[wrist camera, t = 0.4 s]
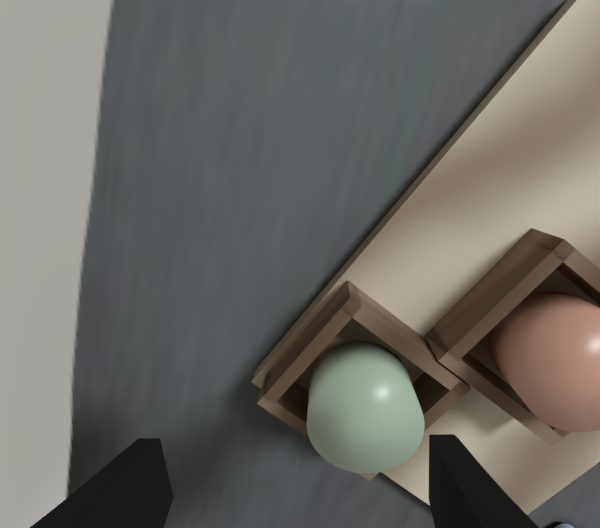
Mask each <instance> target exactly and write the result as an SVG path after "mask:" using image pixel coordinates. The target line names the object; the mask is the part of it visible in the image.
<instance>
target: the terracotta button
mask: <svg viewBox="0 0 600 528" xmlns="http://www.w3.org/2000/svg"><path fill="white" fill-rule="evenodd" d="M490 353H491V357H492V360H493V363H494V365H495V366H496V368H497V369H498V371H499V372H500V373H501V374H502V376H503V377H504V378H505V379H506V381H507V382H508V383H509V384H510V386H511V387H512V388H513V389H514V391H515V392H516V393H517V394H518V395H519V397H520V398H521V399H522V400H523V402H524V403H525V404H526V405H527V407H528V408H529V409H530V410H531V411H532V413H533V414H534V415H535V416H536V417H537V418H538V419H540V420H541V421H543V422H544V423H546V424H548V425H550V426H552V427H554V428H557V429H560V430H565V431H571V432H590V431H597V430H600V308H599V307H597V306H595V305H593V304H591V303H590V302H588V301H586V300H584V299H582V298H580V297H578V296H576V295H573V294H569V293H564V292H546V293H540V294H536V295H532V296H530V297H527V298H525V299H523V300H522V301H521V302H520V303H519V304H518V305H517V306H516V307H515V308H514V309H513V310H512V311H511V312H510V313H509V314H508V315H507V316H505V317H504V318H503V319H502V320H501V321H500V322H499V323H498V324H497V325H496V326H495V327H494V330H493V332H492V336H491V340H490Z"/></svg>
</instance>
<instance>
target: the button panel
mask: <svg viewBox="0 0 600 528" xmlns="http://www.w3.org/2000/svg"><path fill="white" fill-rule="evenodd" d="M546 292H564V293H569V294H573V295H576V296H578V297H580V298H582V299H584V300H586V301H588V302H590V303H591V304H593V305H595V306H597V307H599V308H600V0H567V1H566V2H565V3H564V5H563V6H562V7H561V8H560V9H559V11H558V12H557V13H556V14H555V15H554V16H553V18H552V19H551V20H550V21H549V22H548V24H547V25H546V26H545V27H544V28H543V30H542V31H541V32H540V33H539V34H538V35H537V37H536V38H535V39H534V40H533V41H532V43H531V44H530V45H529V46H528V47H527V48H526V50H525V51H524V52H523V53H522V54H521V56H520V57H519V58H518V59H517V60H516V62H515V63H514V64H513V65H512V66H511V67H510V69H509V70H508V71H507V72H506V73H505V75H504V76H503V77H502V78H501V79H500V81H499V82H498V83H497V84H496V85H495V86H494V88H493V89H492V90H491V91H490V92H489V94H488V95H487V96H486V97H485V98H484V99H483V101H482V102H481V103H480V104H479V105H478V107H477V108H476V109H475V110H474V111H473V113H472V114H471V115H470V116H469V117H468V118H467V120H466V121H465V122H464V123H463V124H462V126H461V127H460V128H459V129H458V130H457V131H456V133H455V134H454V135H453V136H452V137H451V139H450V140H449V141H448V142H447V143H446V145H445V146H444V147H443V148H442V149H441V150H440V152H439V153H438V154H437V155H436V156H435V158H434V159H433V160H432V161H431V162H430V163H429V165H428V166H427V167H426V168H425V169H424V171H423V172H422V173H421V174H420V175H419V177H418V178H417V179H416V180H415V181H414V182H413V184H412V185H411V186H410V187H409V188H408V190H407V191H406V192H405V193H404V194H403V195H402V197H401V198H400V199H399V200H398V201H397V203H396V204H395V205H394V206H393V207H392V209H391V210H390V211H389V212H388V213H387V214H386V216H385V217H384V218H383V219H382V220H381V222H380V223H379V224H378V225H377V226H376V227H375V229H374V230H373V231H372V232H371V233H370V235H369V236H368V237H367V238H366V239H365V241H364V242H363V243H362V244H361V245H360V246H359V248H358V249H357V250H356V251H355V252H354V254H353V255H352V256H351V257H350V258H349V259H348V261H347V262H346V263H345V264H344V265H343V267H342V268H341V269H340V270H339V271H338V273H337V274H336V275H335V276H334V277H333V278H332V280H331V281H330V282H329V283H328V284H327V286H326V287H325V288H324V289H323V290H322V292H321V293H320V294H319V295H318V296H317V297H316V299H315V300H314V301H313V302H312V303H311V305H310V306H309V307H308V308H307V309H306V310H305V312H304V313H303V314H302V315H301V316H300V318H299V319H298V320H297V321H296V322H295V324H294V325H293V326H292V327H291V328H290V329H289V331H288V332H287V333H286V334H285V335H284V337H283V338H282V339H281V340H280V341H279V342H278V344H277V345H276V346H275V347H274V348H273V350H272V351H271V352H270V353H269V354H268V356H267V357H266V358H265V359H264V360H263V361H262V363H261V364H260V365H259V366H258V367H257V369H256V371H255V374H254V377H253V379H252V383H253V384H255V385H256V386H258V387H259V388H260V389H261V392H260V395H259V399H258V402H257V404H258V405H260V406H261V407H262V408H264V409H265V410H267V411H268V412H270V413H271V414H273V415H274V416H276V417H277V418H278V419H280V420H281V421H283V422H284V423H286V424H287V425H289V426H290V427H292V428H293V429H295V430H296V431H297V432H299V433H300V434H302V435H303V436H305V437H306V438H308V439H309V436H308V432H307V412H308V400H309V388H310V377H311V373H312V370H313V368H314V366H315V364H316V362H317V361H318V360H319V358H320V357H321V356H322V355H323V354H324V353H325V352H327V351H328V350H330V349H331V348H333V347H335V346H337V345H340V344H343V343H346V342H352V341H367V342H372V343H376V344H379V345H382V346H384V347H386V348H388V349H389V350H391V351H392V352H393V353H395V354H396V355H397V356H398V357H399V358H400V359H401V361H402V362H403V364H404V365H405V367H406V369H407V372H408V375H409V377H410V380H411V383H412V385H413V388H414V391H415V393H416V396H417V399H418V401H419V404H420V407H421V409H422V413H423V416H424V422H425V427H424V435H423V438H422V441H421V443H420V445H419V447H418V448H417V450H416V451H415V453H414V454H413V455H412V456H411V457H410V458H409V459H407V460H406V461H405V462H404V463H402V464H400V465H399V466H397V467H394V468H392V469H389V470H386V471H383V472H382V473H383V474H385V475H386V476H387V477H389V478H390V479H392V480H393V481H395V482H396V483H398V484H399V485H400V486H402V487H403V488H405V489H406V490H408V491H409V492H411V493H412V494H413V495H415V496H416V497H418V498H419V499H421V500H422V501H424V502H425V503H426V504H428V505H429V506H430V502H429V435H442V434H454V435H455V436H456V437H458V438H459V440H460V441H461V442H462V443H463V444H464V446H465V447H466V448H467V449H468V450H469V452H470V453H471V454H472V455H473V456H474V457H475V459H476V460H477V461H478V462H479V463H480V464H481V466H482V467H483V468H484V469H485V470H486V471H487V472H488V474H489V475H490V476H491V477H492V478H493V479H494V480H495V481H496V483H497V484H498V485H499V486H500V487H501V488H502V489H503V490H504V491H505V492H506V493H507V495H508V496H509V497H510V498H511V499H512V500H513V501H514V502H515V503H516V504H517V505H518V506H519V507H520V508H521V509H522V510H523V512H524V513H525V514H526V515H528V514H529V513H530V512H532V511H533V510H534V509H536V508H537V507H538V506H540V505H541V504H542V503H544V502H545V501H547V500H548V499H549V498H551V497H552V496H553V495H555V494H556V493H557V492H559V491H560V490H562V489H563V488H564V487H566V486H567V485H568V484H570V483H571V482H572V481H574V480H575V479H576V478H578V477H579V476H581V475H582V474H583V473H585V472H586V471H587V470H589V469H590V468H591V467H593V466H594V465H596V464H597V463H598V462H600V430H597V431H590V432H571V431H565V430H560V429H557V428H554V427H552V426H550V425H548V424H546V423H544V422H543V421H541V420H540V419H538V418H537V417H536V416H535V415H534V414H533V413H532V411H531V410H530V409H529V408H528V407H527V405H526V404H525V403H524V402H523V400H522V399H521V398H520V397H519V395H518V394H517V393H516V392H515V391H514V389H513V388H512V387H511V386H510V384H509V383H508V382H507V381H506V379H505V378H504V377H503V376H502V374H501V373H500V372H499V371H498V369H497V368H496V366H495V365H494V363H493V360H492V357H491V353H490V340H491V336H492V332H493V330H494V327H495V326H496V325H497V324H498V323H499V322H500V321H501V320H502V319H503V318H504V317H505V316H507V315H508V314H509V313H510V312H511V311H512V310H513V309H514V308H515V307H516V306H517V305H518V304H519V303H520V302H521V301H522V300H523V299H525V298H527V297H530V296H532V295H536V294H540V293H546ZM309 440H310V439H309ZM378 473H379V472H378ZM378 473H359V474H360V475H362V476H363V477H364V478H366V479H367V480H369V481H370V480H371V479H373V478H374V477H375V476H376V475H377V474H378Z"/></svg>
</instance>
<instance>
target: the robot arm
mask: <svg viewBox="0 0 600 528" xmlns="http://www.w3.org/2000/svg"><path fill="white" fill-rule="evenodd" d="M172 500H173V494H172V489H171V485H170V481H169V476H168V472H167V468H166V463H165V459H164V455H163V450H162V446H161V442H160V438H155V439H138V440H137V441H135V442H134V443H133V444H131V445H130V446H129V447H128V448H126V449H125V450H124V451H123V452H122V453H120V454H119V455H118V456H117V457H116V458H114V459H113V460H112V461H111V462H110V463H109V464H107V465H106V466H105V467H104V468H103V469H101V470H100V471H99V472H98V473H97V474H95V475H94V476H93V477H92V478H91V479H90V480H88V481H87V482H86V483H85V484H84V485H82V486H81V487H80V488H79V489H78V490H76V491H75V492H74V493H73V494H72V495H70V496H69V497H68V498H67V499H66V500H64V501H63V502H62V503H61V504H59V505H58V506H57V507H56V508H55V509H53V510H52V511H51V512H49V513H48V514H47V515H46V516H44V517H43V518H42V519H41V520H39V521H38V522H37V523H35V524H34V525H33V526H32V527H30V528H163V527H164V525H165V522H166V519H167V515H168V512H169V509H170V506H171V503H172ZM429 502H430V507H431V511H432V515H433V520H434V524H435V528H539V527H538V526H537V525H536V524H535V523H534V522H533V521H532V520H531V519H530V518H529V517H528V516H527V515H526V514H525V513H524V512H523V510H522V509H521V508H520V507H519V506H518V505H517V504H516V503H515V502H514V501H513V500H512V499H511V498H510V497H509V496H508V495H507V493H506V492H505V491H504V490H503V489H502V488H501V487H500V486H499V485H498V484H497V483H496V481H495V480H494V479H493V478H492V477H491V476H490V475H489V474H488V472H487V471H486V470H485V469H484V468H483V467H482V466H481V464H480V463H479V462H478V461H477V460H476V459H475V457H474V456H473V455H472V454H471V453H470V452H469V450H468V449H467V448H466V447H465V446H464V444H463V443H462V442H461V441H460V440H459V438H458V437H456V436H455V435H454V434H442V435H429ZM555 528H574V527H573V526H571V525H569V524H560V525H558V526H556V527H555Z"/></svg>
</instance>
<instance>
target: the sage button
mask: <svg viewBox="0 0 600 528" xmlns="http://www.w3.org/2000/svg"><path fill="white" fill-rule="evenodd" d="M424 427H425V422H424V416H423V413H422V409H421V407H420V404H419V401H418V399H417V396H416V393H415V391H414V388H413V385H412V383H411V380H410V377H409V375H408V372H407V369H406V367H405V365H404V364H403V362H402V361H401V359H400V358H399V357H398V356H397V355H396V354H395V353H393V352H392V351H391V350H389V349H388V348H386V347H384V346H382V345H379V344H376V343H372V342H367V341H352V342H346V343H343V344H340V345H337V346H335V347H333V348H331V349H330V350H328V351H327V352H325V353H324V354H323V355H322V356H321V357H320V358H319V360H318V361H317V362H316V364H315V366H314V368H313V370H312V373H311V377H310V388H309V400H308V412H307V432H308V436H309V439H310V441H311V443H312V445H313V447H314V448H315V450H316V451H317V452H318V453H319V454H320V455H321V456H322V457H323V458H324V459H325V460H326V461H328V462H329V463H331V464H332V465H334V466H336V467H338V468H341V469H343V470H346V471H350V472H355V473H378V472H383V471H386V470H389V469H392V468H394V467H397V466H399V465H400V464H402V463H404V462H405V461H406V460H407V459H409V458H410V457H411V456H412V455H413V454H414V453H415V451H416V450H417V448H418V447H419V445H420V443H421V441H422V438H423V435H424Z"/></svg>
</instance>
